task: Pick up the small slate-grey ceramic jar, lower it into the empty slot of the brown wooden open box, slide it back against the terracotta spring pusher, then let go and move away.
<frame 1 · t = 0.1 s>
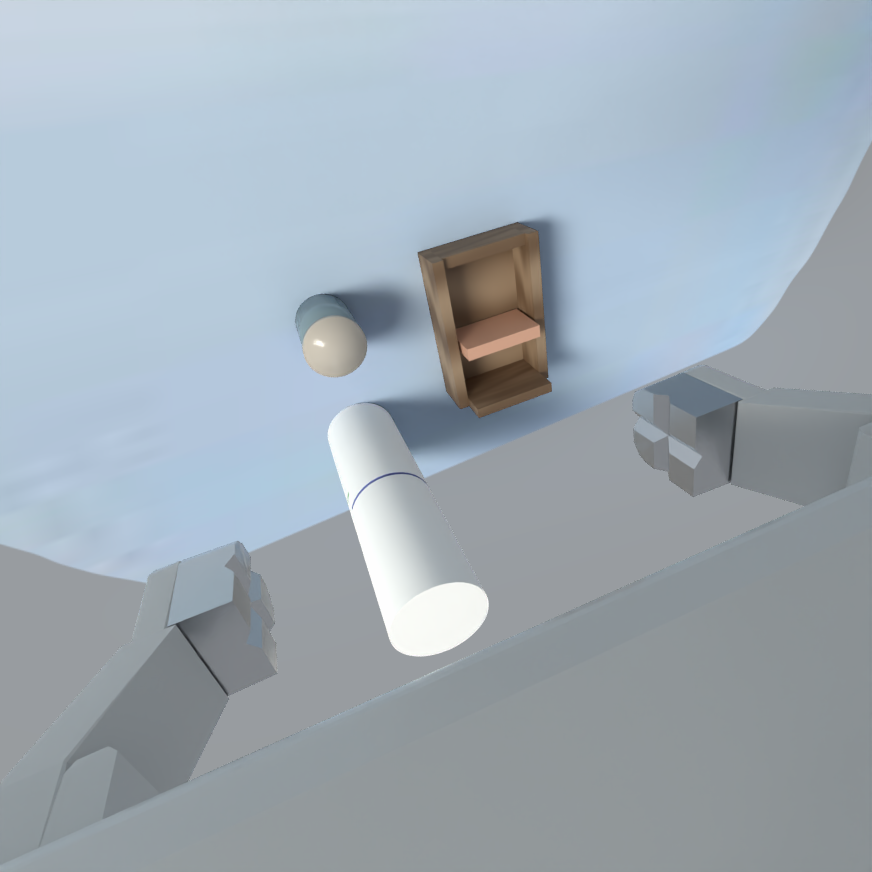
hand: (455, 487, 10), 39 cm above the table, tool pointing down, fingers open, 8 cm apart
brown wooden open box: (479, 312, 52), on the table
cylindrical container: (361, 431, 55), on the table
jar: (323, 321, 47), on the table
pusher: (493, 333, 50), point 3 cm above the table, slide at 0.0 cm
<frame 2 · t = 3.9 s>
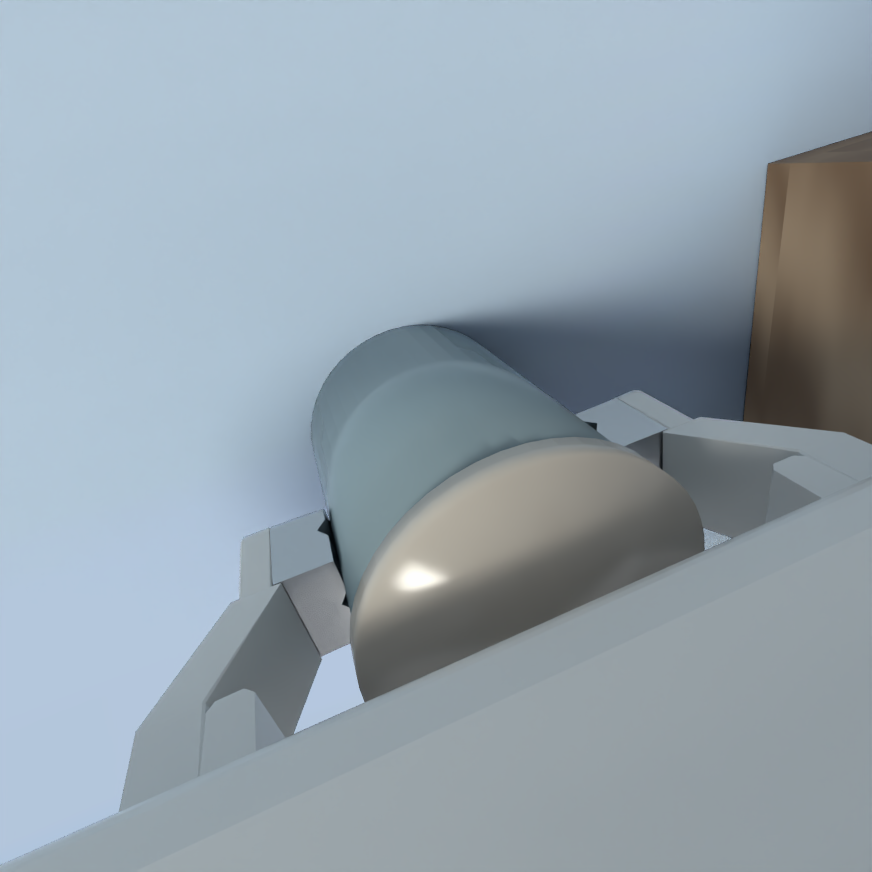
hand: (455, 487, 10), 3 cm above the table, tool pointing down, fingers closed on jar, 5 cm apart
brown wooden open box: (868, 375, 17), on the table
jar: (415, 426, 13), on the table, touching gripper
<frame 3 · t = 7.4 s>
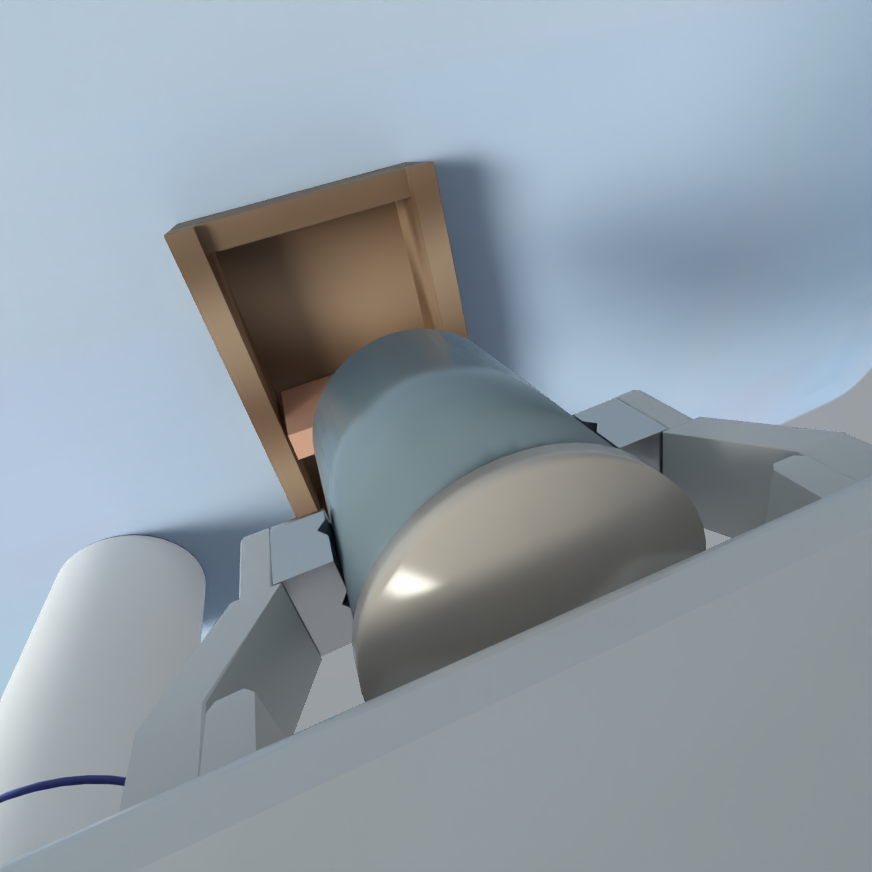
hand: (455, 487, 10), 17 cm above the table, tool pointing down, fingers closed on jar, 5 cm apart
brown wooden open box: (348, 352, 26), on the table
cylindrical container: (134, 586, 28), on the table
jar: (416, 429, 13), point 14 cm above the table, touching gripper
pusher: (367, 396, 24), point 3 cm above the table, slide at 0.0 cm
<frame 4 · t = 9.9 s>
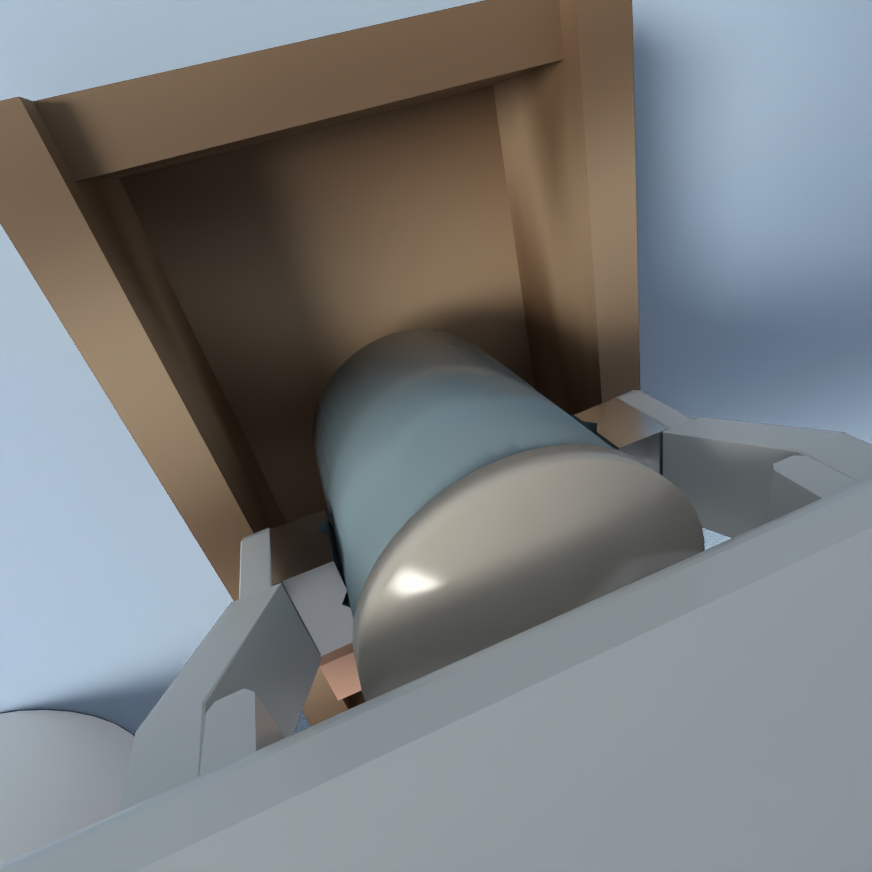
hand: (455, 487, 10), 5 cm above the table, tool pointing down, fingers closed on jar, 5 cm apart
brown wooden open box: (392, 393, 14), on the table
cylindrical container: (27, 782, 17), on the table
jar: (416, 429, 13), point 2 cm above the table, touching gripper, pusher
pusher: (453, 546, 13), point 3 cm above the table, slide at 2.1 cm, touching jar
when the fingers open (5 cm above the table, at t = 10.9 s): jar drops 2 cm, resting on brown wooden open box.
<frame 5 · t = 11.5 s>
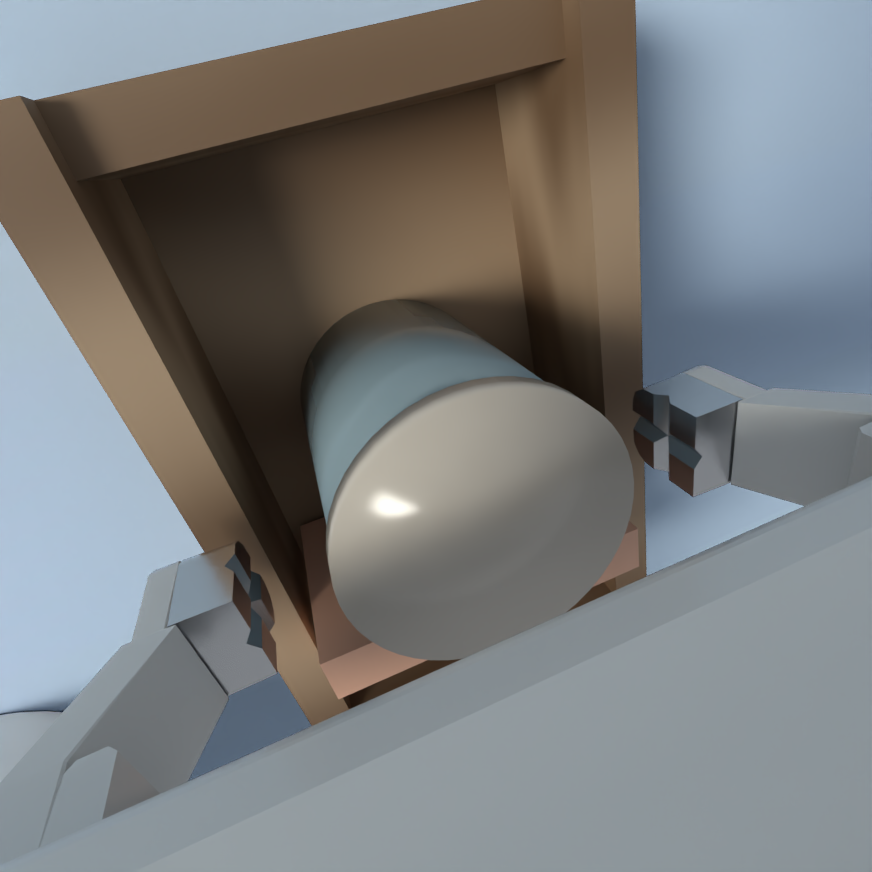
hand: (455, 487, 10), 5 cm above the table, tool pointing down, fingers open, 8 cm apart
brown wooden open box: (394, 394, 14), on the table
cylindrical container: (28, 784, 17), on the table
jar: (396, 393, 14), point 1 cm above the table, touching brown wooden open box
pusher: (455, 544, 13), point 3 cm above the table, slide at 2.0 cm
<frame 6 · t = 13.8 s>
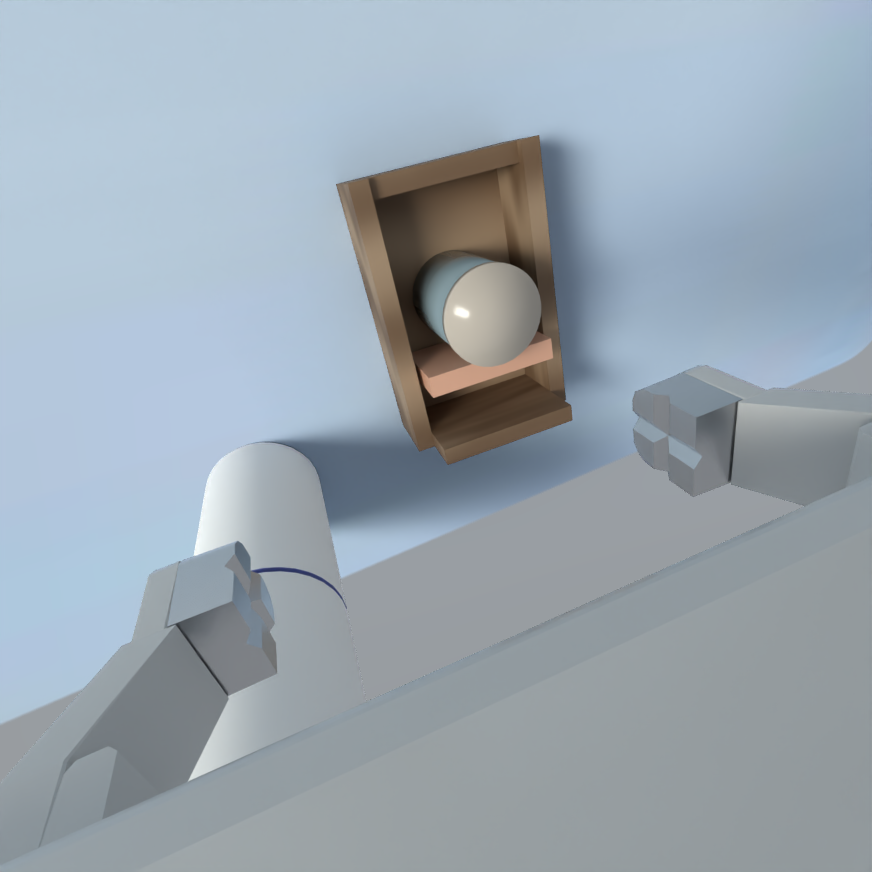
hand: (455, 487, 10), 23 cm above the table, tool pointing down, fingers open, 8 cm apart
brown wooden open box: (449, 295, 32), on the table
cylindrical container: (264, 489, 34), on the table
jar: (452, 293, 31), point 1 cm above the table, touching brown wooden open box
pusher: (477, 355, 31), point 3 cm above the table, slide at 2.0 cm
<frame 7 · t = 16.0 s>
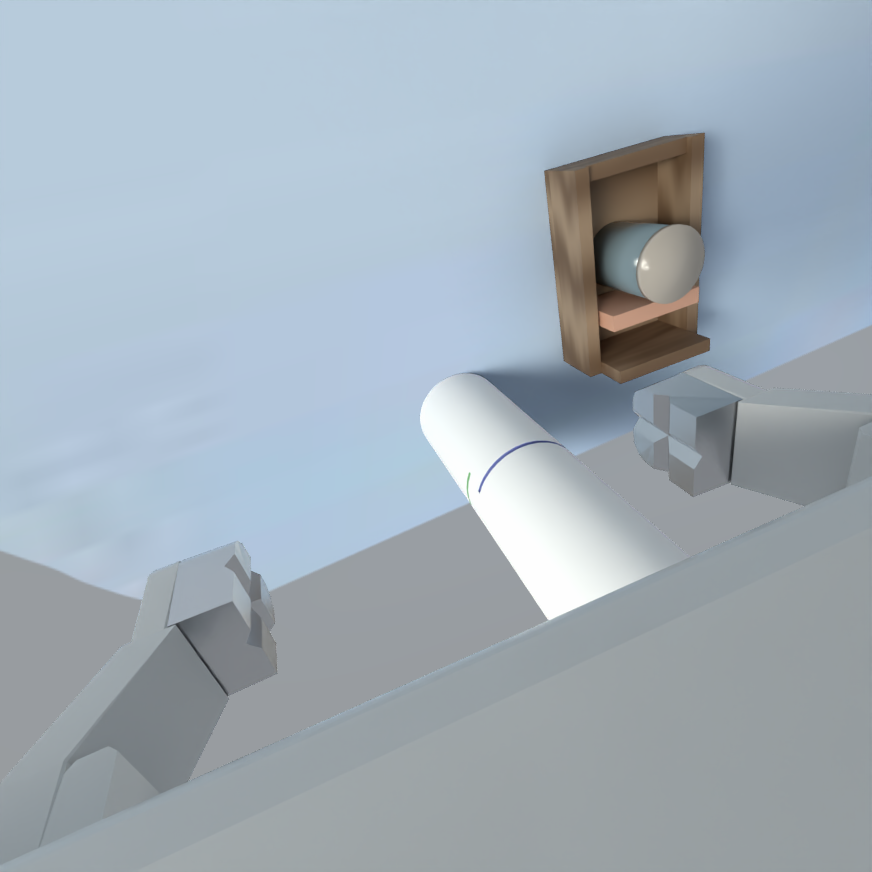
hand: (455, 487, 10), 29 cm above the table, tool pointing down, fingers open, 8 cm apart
brown wooden open box: (610, 256, 41), on the table
cylindrical container: (459, 412, 44), on the table
jar: (614, 254, 41), point 1 cm above the table, touching brown wooden open box
pusher: (636, 302, 40), point 3 cm above the table, slide at 2.0 cm
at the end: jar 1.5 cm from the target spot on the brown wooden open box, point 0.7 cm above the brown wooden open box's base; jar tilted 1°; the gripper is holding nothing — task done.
